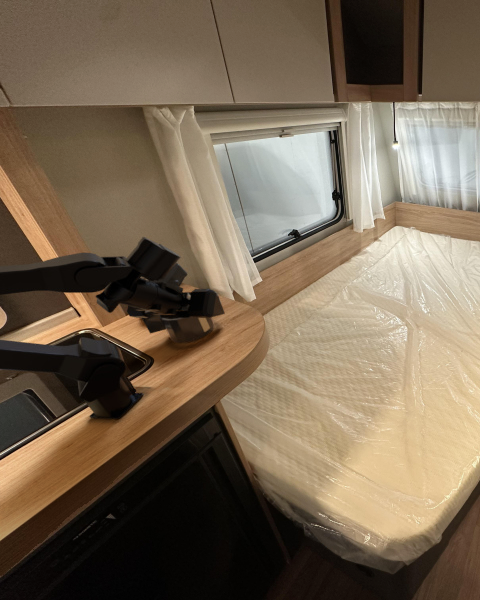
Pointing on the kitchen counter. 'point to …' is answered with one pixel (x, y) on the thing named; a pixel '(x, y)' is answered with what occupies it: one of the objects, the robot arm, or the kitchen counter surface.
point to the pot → (184, 325)
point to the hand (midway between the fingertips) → (198, 311)
